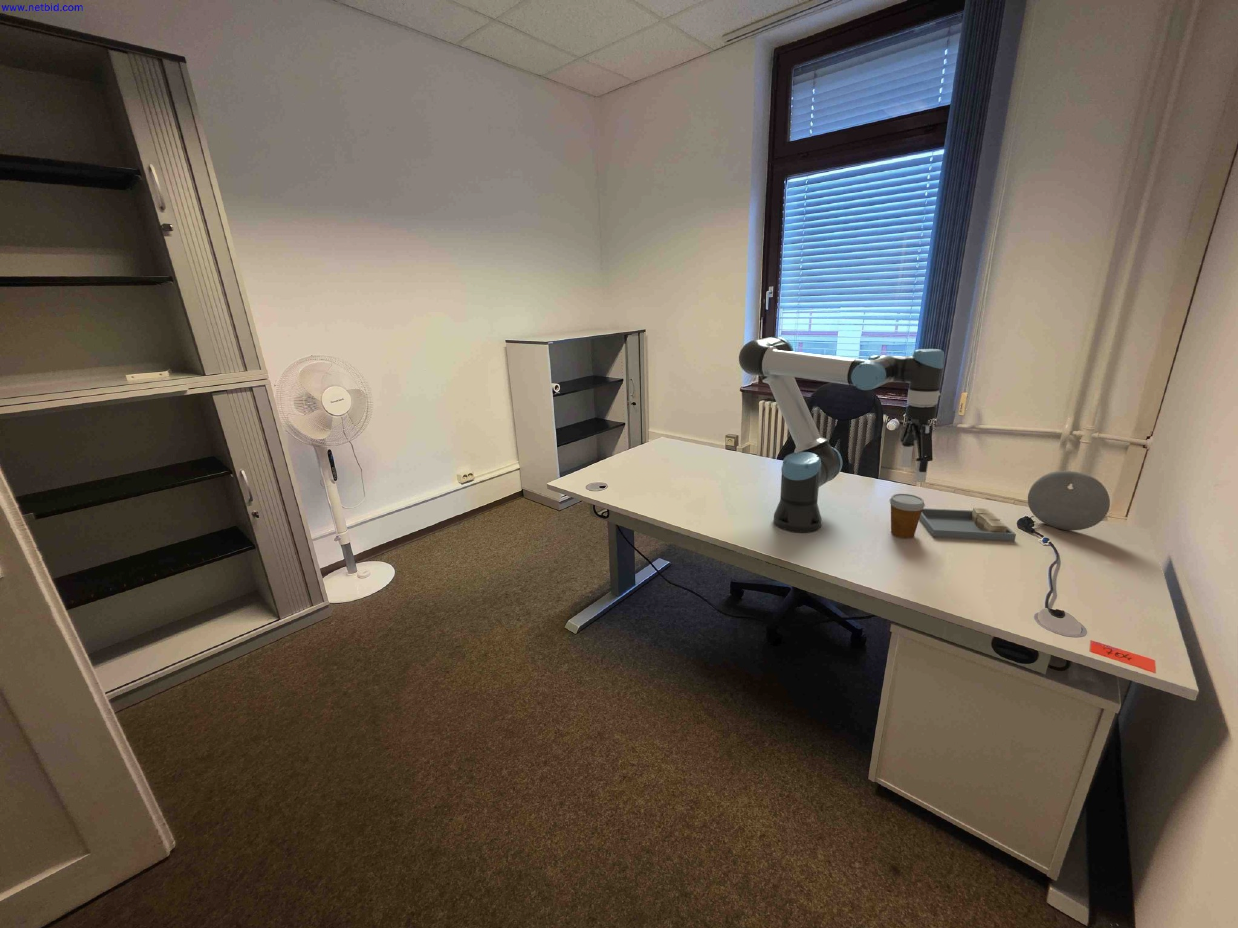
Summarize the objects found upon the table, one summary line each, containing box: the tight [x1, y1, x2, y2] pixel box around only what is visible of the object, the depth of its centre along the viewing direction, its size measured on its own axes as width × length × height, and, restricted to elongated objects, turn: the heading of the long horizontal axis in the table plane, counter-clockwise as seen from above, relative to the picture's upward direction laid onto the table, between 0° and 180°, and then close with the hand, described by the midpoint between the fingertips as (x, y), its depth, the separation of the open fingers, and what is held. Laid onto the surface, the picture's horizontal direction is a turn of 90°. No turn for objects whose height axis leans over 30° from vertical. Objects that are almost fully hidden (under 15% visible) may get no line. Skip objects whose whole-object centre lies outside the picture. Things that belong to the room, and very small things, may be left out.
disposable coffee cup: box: [889, 493, 926, 539], centre depth 152 cm, size 10×10×12 cm
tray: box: [919, 507, 1017, 543], centre depth 154 cm, size 22×17×3 cm
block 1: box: [971, 507, 993, 524], centre depth 157 cm, size 4×4×4 cm
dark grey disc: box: [1027, 470, 1111, 531], centre depth 149 cm, size 18×7×19 cm, turn 44°
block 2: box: [976, 513, 1001, 530], centre depth 152 cm, size 4×4×4 cm
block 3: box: [983, 520, 1008, 533], centre depth 148 cm, size 4×4×4 cm
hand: (912, 473), depth 147 cm, fingers open, 13 cm apart
